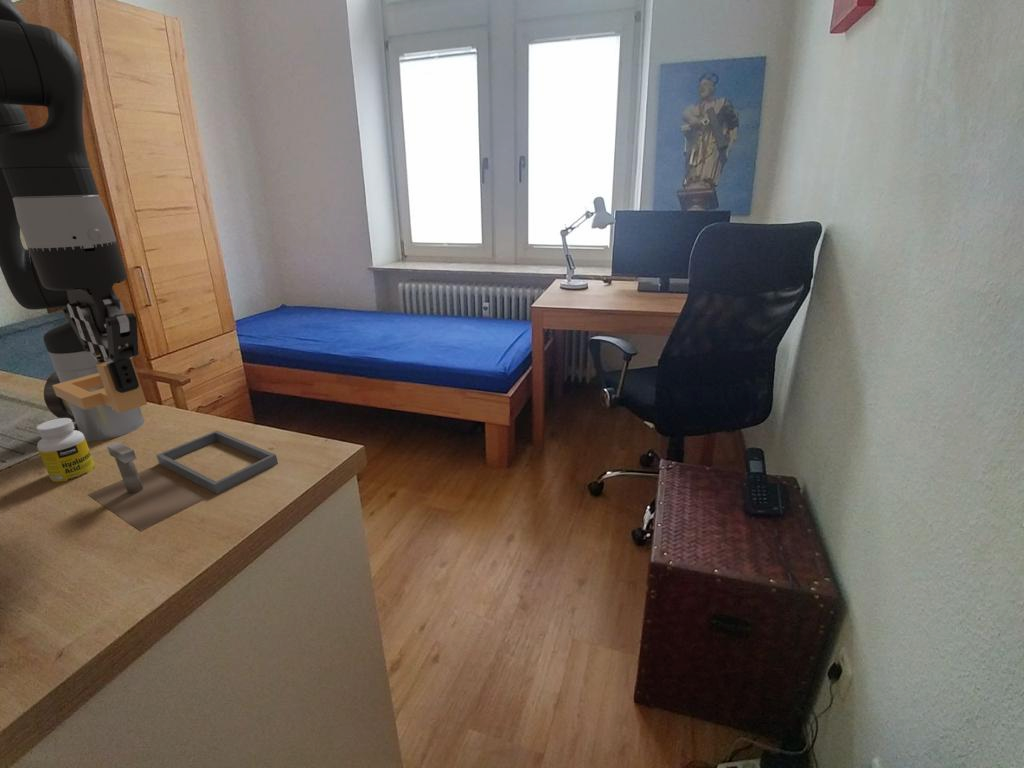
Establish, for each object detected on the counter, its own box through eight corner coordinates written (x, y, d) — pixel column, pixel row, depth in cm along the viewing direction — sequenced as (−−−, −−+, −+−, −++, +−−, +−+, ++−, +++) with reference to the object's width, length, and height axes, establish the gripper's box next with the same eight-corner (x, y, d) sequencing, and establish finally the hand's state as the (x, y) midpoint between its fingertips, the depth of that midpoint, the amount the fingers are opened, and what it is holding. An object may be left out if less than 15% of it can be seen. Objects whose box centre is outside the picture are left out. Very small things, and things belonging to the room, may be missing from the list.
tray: (161, 471, 79) (156, 455, 78) (221, 445, 86) (216, 430, 85) (219, 502, 71) (214, 484, 69) (279, 471, 78) (275, 454, 77)
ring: (56, 395, 66) (38, 352, 63) (112, 379, 70) (98, 339, 68) (103, 418, 59) (85, 370, 56) (161, 399, 64) (147, 354, 61)
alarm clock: (76, 438, 91) (42, 353, 85) (52, 436, 92) (17, 352, 86) (130, 412, 101) (103, 335, 94) (108, 410, 102) (80, 334, 96)
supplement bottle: (71, 492, 74) (46, 433, 70) (45, 487, 76) (19, 429, 72) (107, 473, 79) (85, 417, 75) (82, 468, 80) (59, 414, 77)
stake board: (91, 503, 71) (70, 451, 68) (152, 476, 78) (135, 428, 74) (144, 540, 63) (123, 484, 60) (207, 507, 70) (191, 455, 66)
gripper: (5, 242, 55) (63, 388, 61) (54, 247, 48) (113, 412, 54) (87, 235, 60) (132, 369, 67) (141, 239, 53) (185, 388, 60)
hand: (123, 387), depth 61 cm, fingers closed on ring
